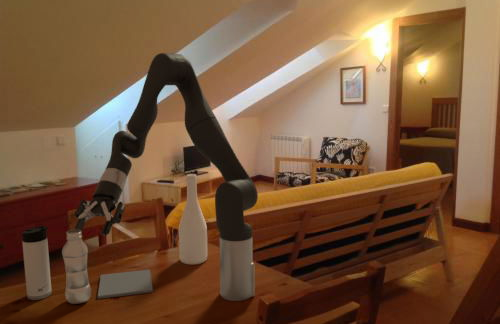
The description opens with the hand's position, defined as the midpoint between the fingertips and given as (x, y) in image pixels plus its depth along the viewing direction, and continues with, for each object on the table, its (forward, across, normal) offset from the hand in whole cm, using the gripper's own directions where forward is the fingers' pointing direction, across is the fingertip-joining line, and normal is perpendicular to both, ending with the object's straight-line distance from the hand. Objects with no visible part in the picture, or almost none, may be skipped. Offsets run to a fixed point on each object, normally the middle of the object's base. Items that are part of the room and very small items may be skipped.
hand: (90, 233), depth 123 cm
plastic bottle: (+17, 0, +7) cm, 19 cm away
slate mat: (+8, +7, +16) cm, 19 cm away
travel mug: (+17, -13, +8) cm, 23 cm away
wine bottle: (-8, +20, +32) cm, 39 cm away
